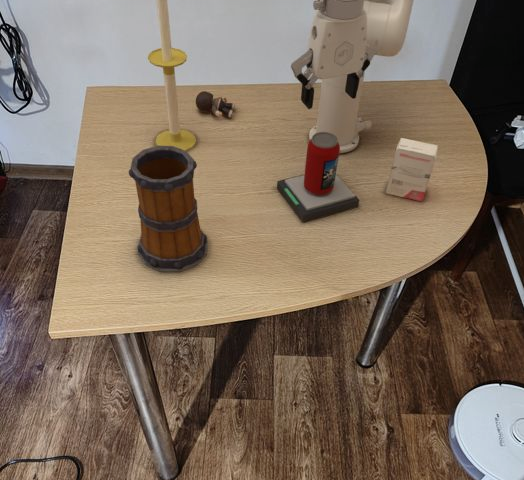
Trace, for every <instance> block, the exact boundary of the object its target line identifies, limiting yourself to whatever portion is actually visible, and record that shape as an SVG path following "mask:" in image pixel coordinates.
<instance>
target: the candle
mask: <svg viewBox="0 0 524 480" xmlns="http://www.w3.org/2000/svg"><path fill="white" fill-rule="evenodd" d="M156 8H157V17H158V27H159V36H160V37H159V38H160V46H161V48H157V49H154V50H152V51H151V52H149V53H148V56H147V60H148V61H149V63H150V64H151V65H153V66H154V67H158V68H162V73H163V81H164V82H163V83H164V91H165V92H164V93H165V100H166V110H167V118H168V128H169V129H166V130H164V131H162V132H160V133H159V134H158V135H157V136H156V138H155V146H174V147H177V148H180V149H183V150H185V151H187V152H188V151H189V150H191V149H193V148H194V147H195V146H196V144H197V138H196V137H195V134H194V133H192V132H190V131H189V130H186V129H182V128H181V127H180V125H181V124H180V115H179V104H178V103H179V102H178V94H177V93H178V91H177V82H176V72H175V68H176V67H179V66H182V65H183V64H185V63H186V62H187V61H188V59H187V58H188V55H187V54H186V52H185V51H184V50H181V49H179V48H175V47H173V46H172V37H171V27H170V16H169V5H168V0H156Z"/></svg>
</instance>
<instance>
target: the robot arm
mask: <svg viewBox="0 0 524 480" xmlns="http://www.w3.org/2000/svg"><path fill="white" fill-rule="evenodd" d="M413 4H414V0H314V1H313V4H312V6H313V9H314V10H315V13H314V17H313V19H312V24H311V28H310V31H309V37H308V41H307V47H306V48H307V49H306V52H304V54H302V55H301V56H299V57H298V58H297V59H296V60H294V61H293V62H292V63H291V64H290V69H291V71H292V73H293V75H294V77H295V79H297V81H298V82H299V83H300V84H301V93H300V101H301V102H302V104H303V105H304V106H305V107H306V108H307V109H308V110H311V109H313V105H314V97H315V88H314V87H313V86H314V85H315V83H317V81H318V80H321V85H320V92H319V102H318V111H317V116H316V117H317V118H316V125H314V126H313V127H312V128H311V129H310V130H309V132H308V141H310V140H311V139H312V136H313V135H314V134H316V133H319V132H328V133H331V134H333V135H335V136H336V137H337V139H338V143H339V145H340V151H339V154H344V153H348V152H351V151H353V150H354V149H356V148H357V146H359V142H360V135H359V133H360V132H362V131H365V130H370V129H372V126H373V125H372V124H373V123H372V121H371V120H365V121H363V119H362V117H358V114H359V108H360V101H361V96H362V90H363V85H364V81H365V80H364V78H365V73H366V72H365V71H366V70H367V69H368V68H369V67H370V65H371V61H372V60H373V58H374V57H375V56H380V57H389V58H391V57H395V56H397V55H398V54H399V53H400V52H401V51H402V48H403V46H404V44H405V40H406V37H407V33H408V30H409V29H408V28H409V24H410V19H411V13H412V9H413ZM305 66H306V69H305V71H304V72H303V71H302V70H303V68H304V67H305Z"/></svg>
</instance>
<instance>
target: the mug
mask: <svg viewBox="0 0 524 480" xmlns="http://www.w3.org/2000/svg"><path fill="white" fill-rule="evenodd" d="M197 164H198V163H197V161H196V160H195V159H194V158H193V157H192V155H191V154H190V153H189V152H188V150H187V151H185V150H183V149H180V148H177V147H174V146H157V145H155V146H152V147H147V148H144V149H142V150H141V151H139V152H138V153H137V154H136V155H134V156H133V157H132V159H131V163H130V168H129V170H128V176H129V177H130V178H132V179H133V180H134V182H135V187H136V194H137V199H138V207H137V211H138V217H139V219H140V236H139V237H140V238H139V241H138V245H137V246H136V249H137V255H138V256H139V258H140V259H141V261H142V262H143V264H144V265H145V266H146V267H148V268H150V269H153V270H155V271H158V272H159V273H182V272H185V271H187V270H190V269H192V268H195V267H197V266H198V265H199V264H200V263H201V262H202V261H203V260H204V258H206V257H207V255H208V244H209V243H208V236H207V235H206V233H204V232H203V230H202V229H201V224H200V219H199V214H198V201H197V199H196V197H195V188H194V187H195V186H194V178H195V177H194V175H195V170H196V169H197V167H198V165H197Z"/></svg>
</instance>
